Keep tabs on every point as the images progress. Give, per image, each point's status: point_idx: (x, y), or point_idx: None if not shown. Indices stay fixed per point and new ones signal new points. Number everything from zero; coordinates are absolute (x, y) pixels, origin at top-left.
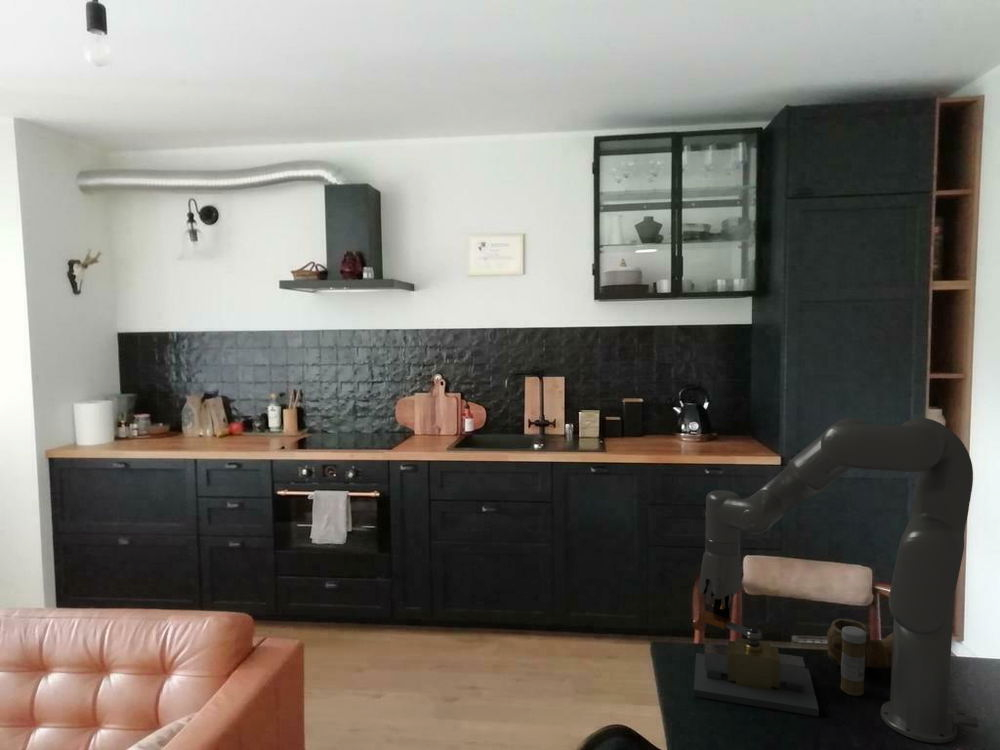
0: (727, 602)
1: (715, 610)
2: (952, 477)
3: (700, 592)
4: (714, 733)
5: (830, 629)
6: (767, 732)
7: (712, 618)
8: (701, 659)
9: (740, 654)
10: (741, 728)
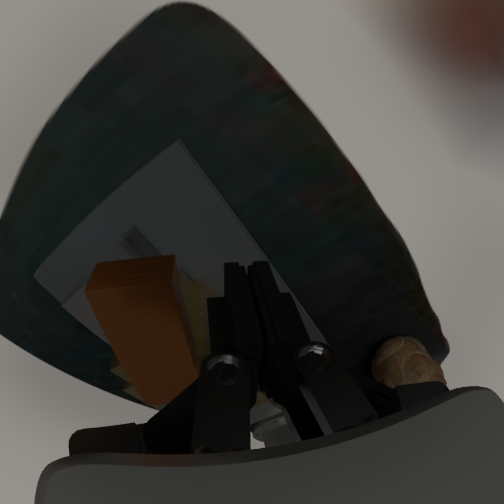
0: (289, 419)
1: (211, 348)
2: None
3: (43, 472)
4: (26, 341)
5: (415, 382)
6: (101, 378)
7: (125, 363)
8: (154, 184)
9: (132, 393)
10: (69, 358)
